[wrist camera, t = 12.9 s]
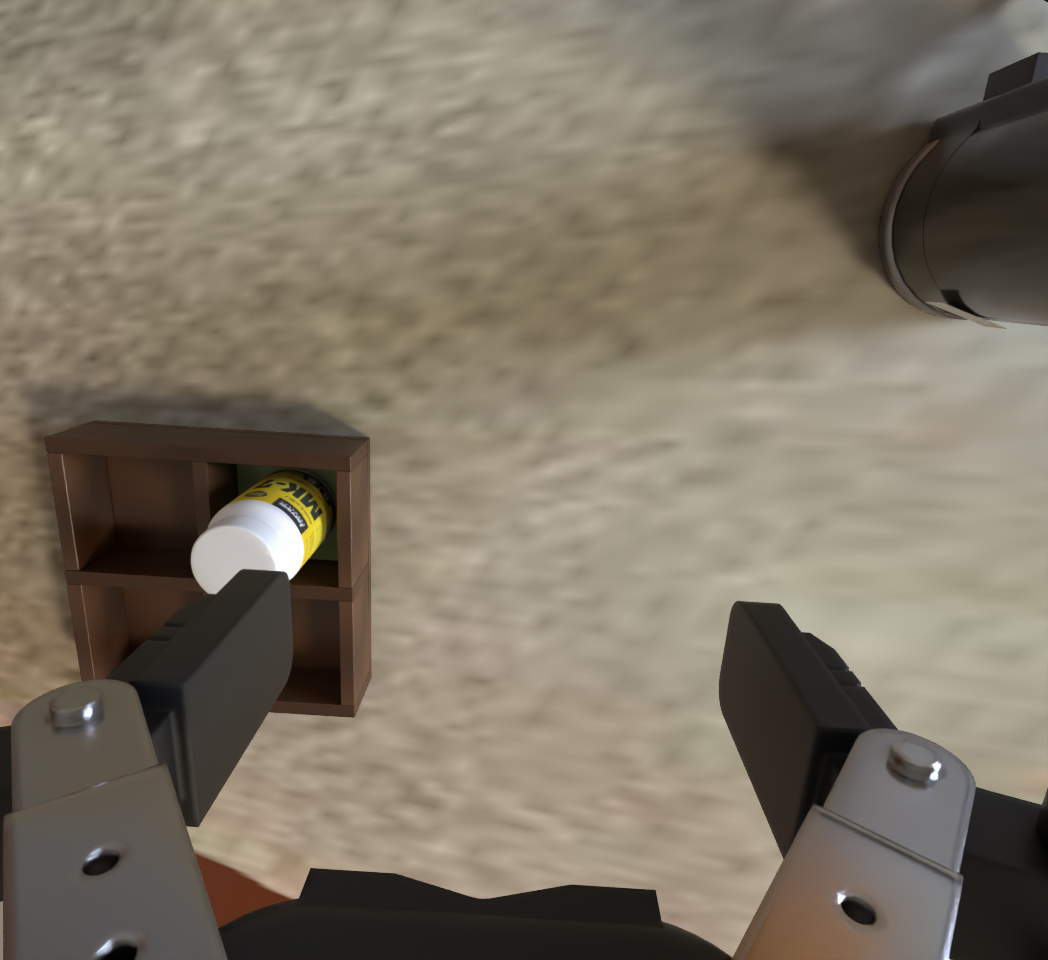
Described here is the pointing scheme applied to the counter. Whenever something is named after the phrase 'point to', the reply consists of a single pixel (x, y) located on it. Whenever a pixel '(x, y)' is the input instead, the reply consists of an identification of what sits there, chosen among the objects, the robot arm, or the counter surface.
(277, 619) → the robot arm
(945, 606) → the counter surface
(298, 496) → the supplement bottle
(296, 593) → the grid
